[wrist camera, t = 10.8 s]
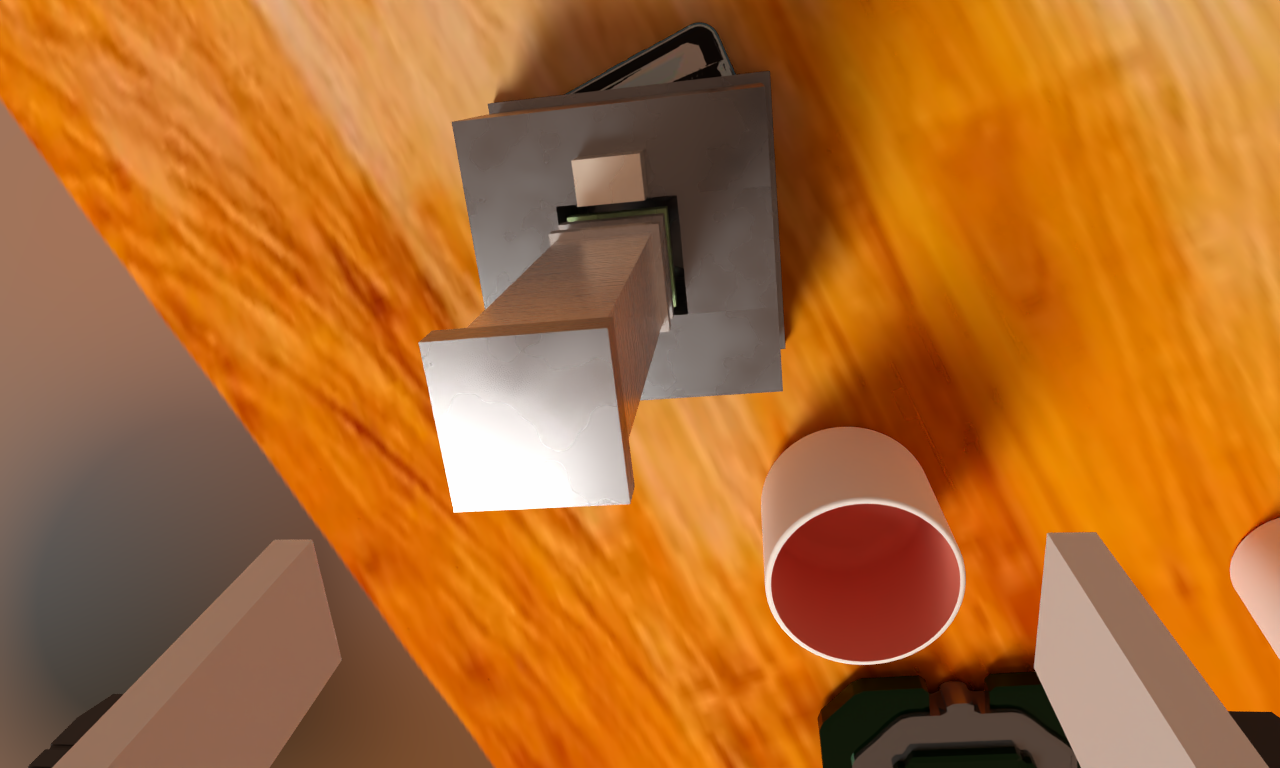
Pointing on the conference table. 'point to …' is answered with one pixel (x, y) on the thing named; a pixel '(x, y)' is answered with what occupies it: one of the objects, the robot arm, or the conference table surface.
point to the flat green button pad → (943, 725)
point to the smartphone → (668, 62)
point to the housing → (642, 178)
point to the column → (555, 369)
